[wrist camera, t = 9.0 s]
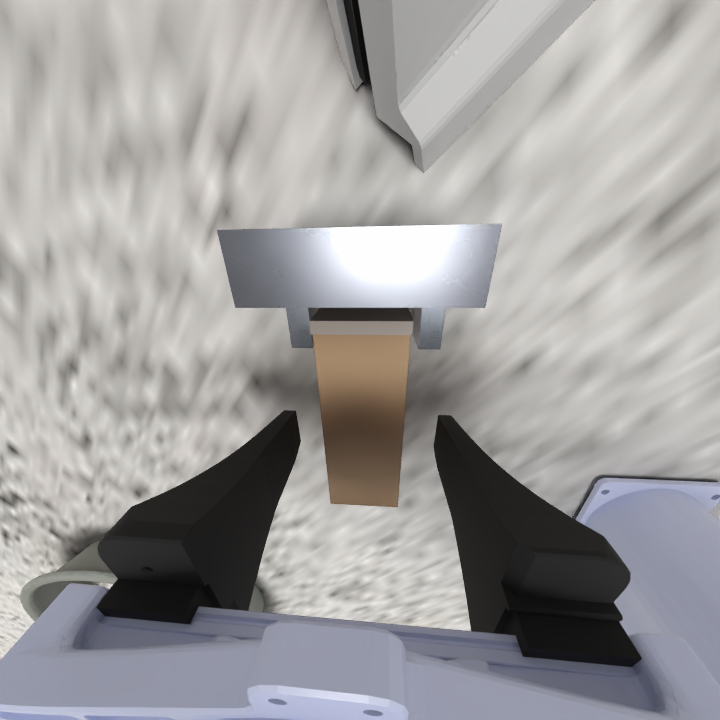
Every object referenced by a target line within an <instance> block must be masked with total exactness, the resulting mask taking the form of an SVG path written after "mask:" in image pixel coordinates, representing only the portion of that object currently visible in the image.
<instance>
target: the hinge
mask: <svg viewBox="0 0 720 720" xmlns="http://www.w3.org/2000/svg"><path fill="white" fill-rule="evenodd" d="M326 1H327V5H328V9H329V13H330V17H331V21H332V25H333V28H334V32H335V36H336V40H337V44H338V48H339V52H340V56H341V59H342V61H343V64H344V66H345V69H346V71H347V73H348V75H349V78H350V80H351V82H352V84H353V86H354V88H355V90H356V89H357V88H358V87H359V85H360V84H361V83H362V82H364V83H365V84H366V85H367V84H368V82H369V81H370V80H371V85H372V91H373V98H374V104H375V111H376V117H378V118H379V119H380V120H381V121H383V122H384V123H385V124H386V125H388V126H389V127H390V128H391V129H393V130H394V131H395V132H396V133H398V134H399V135H400V136H401V137H403V138H404V139H405V140H406V141H408V142H409V143H410V144H411V145H412V149H413V155H414V161H415V165H416V166H417V167H418V168H419V169H420V170H421V171H422V172H423V173H424V172H425V171H426V170H427V169H428V168H429V167H430V166H431V165H432V164H433V163H434V162H435V161H436V160H437V159H438V158H439V157H440V156H441V155H442V154H443V153H444V152H445V151H446V150H447V149H448V148H449V147H450V146H451V145H452V144H453V143H454V142H455V141H456V140H457V139H458V138H459V137H460V136H461V135H462V134H463V133H464V132H465V131H466V130H467V129H468V128H469V127H470V126H471V125H472V124H473V123H474V122H475V121H476V120H477V119H478V118H479V117H480V116H481V115H482V114H483V113H484V112H485V111H486V110H487V109H488V108H489V107H490V106H491V105H492V104H493V103H494V102H495V101H496V100H497V99H498V98H499V97H500V96H501V95H502V94H503V93H504V92H505V91H506V90H507V89H508V88H509V87H510V86H511V85H512V84H513V83H514V82H515V81H516V80H517V79H518V78H519V77H520V75H521V74H522V73H523V72H524V71H525V70H526V69H527V68H528V67H529V66H530V65H531V64H532V63H533V62H534V61H535V60H536V59H537V58H538V57H539V56H540V55H541V54H542V53H543V52H544V51H545V50H546V49H547V48H548V47H549V46H550V45H551V44H552V43H553V42H554V41H555V40H556V39H557V38H558V37H559V36H560V35H561V34H562V33H563V32H564V31H565V30H566V29H567V28H568V27H569V26H570V25H571V24H572V23H573V22H574V21H575V20H576V19H577V18H578V17H579V16H580V15H581V14H582V13H583V12H584V11H585V10H586V9H587V8H588V7H589V6H590V5H591V4H592V3H593V2H594V1H595V0H326Z"/></svg>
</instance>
